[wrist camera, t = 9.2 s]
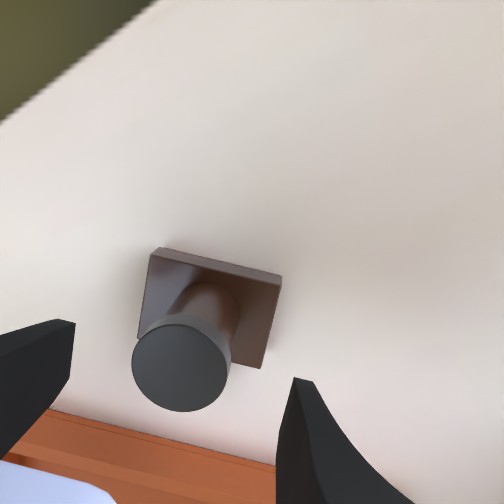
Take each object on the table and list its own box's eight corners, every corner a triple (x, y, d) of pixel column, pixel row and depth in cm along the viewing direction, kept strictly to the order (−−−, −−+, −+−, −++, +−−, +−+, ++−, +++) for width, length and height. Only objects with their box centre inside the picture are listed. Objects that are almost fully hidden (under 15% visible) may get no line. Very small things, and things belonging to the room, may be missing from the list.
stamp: (282, 273, 20) (276, 335, 14) (263, 352, 21) (249, 441, 15) (160, 244, 20) (103, 293, 14) (147, 324, 21) (88, 401, 15)
